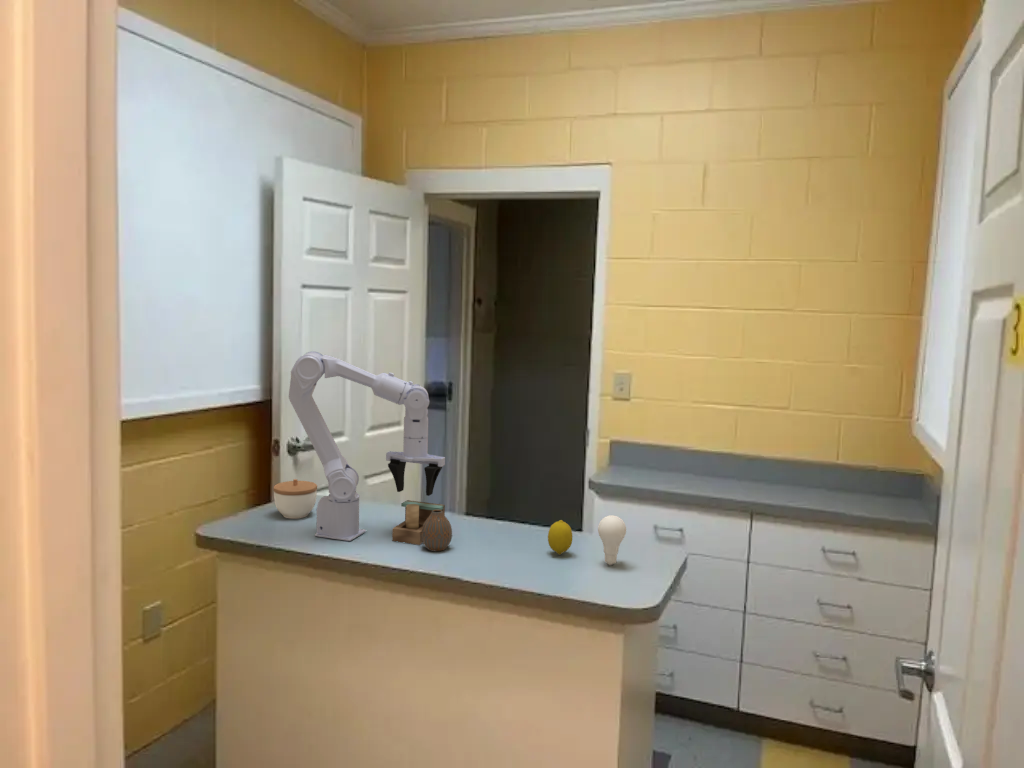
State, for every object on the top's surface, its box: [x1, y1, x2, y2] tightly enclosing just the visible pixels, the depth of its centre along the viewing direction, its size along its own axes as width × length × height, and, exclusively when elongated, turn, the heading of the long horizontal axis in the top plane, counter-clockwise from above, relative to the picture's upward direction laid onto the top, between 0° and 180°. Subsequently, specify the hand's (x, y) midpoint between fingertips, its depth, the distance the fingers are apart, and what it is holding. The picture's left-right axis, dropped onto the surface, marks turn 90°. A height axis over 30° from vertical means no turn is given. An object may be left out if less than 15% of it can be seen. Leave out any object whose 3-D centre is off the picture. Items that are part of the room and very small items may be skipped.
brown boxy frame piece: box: [391, 499, 446, 546], centre depth 184 cm, size 10×11×7 cm
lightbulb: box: [597, 514, 627, 566], centre depth 169 cm, size 6×6×11 cm
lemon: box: [547, 519, 573, 556], centre depth 174 cm, size 6×6×8 cm
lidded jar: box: [273, 478, 318, 520], centre depth 197 cm, size 11×11×9 cm
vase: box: [422, 510, 453, 552], centre depth 176 cm, size 7×7×9 cm
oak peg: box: [406, 504, 419, 530], centre depth 182 cm, size 3×3×8 cm
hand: (414, 492), depth 184 cm, fingers open, 7 cm apart
